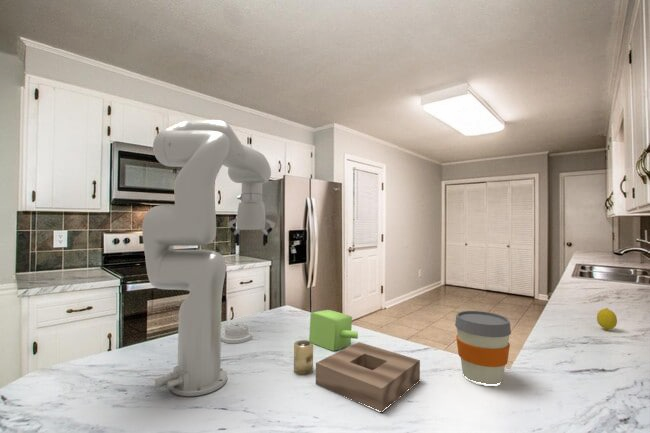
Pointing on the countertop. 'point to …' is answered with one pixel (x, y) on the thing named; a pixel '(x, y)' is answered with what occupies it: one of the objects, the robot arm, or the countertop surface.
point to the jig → (368, 374)
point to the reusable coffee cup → (483, 345)
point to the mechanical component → (236, 333)
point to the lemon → (606, 319)
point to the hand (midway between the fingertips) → (251, 245)
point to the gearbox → (331, 329)
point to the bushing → (303, 357)
